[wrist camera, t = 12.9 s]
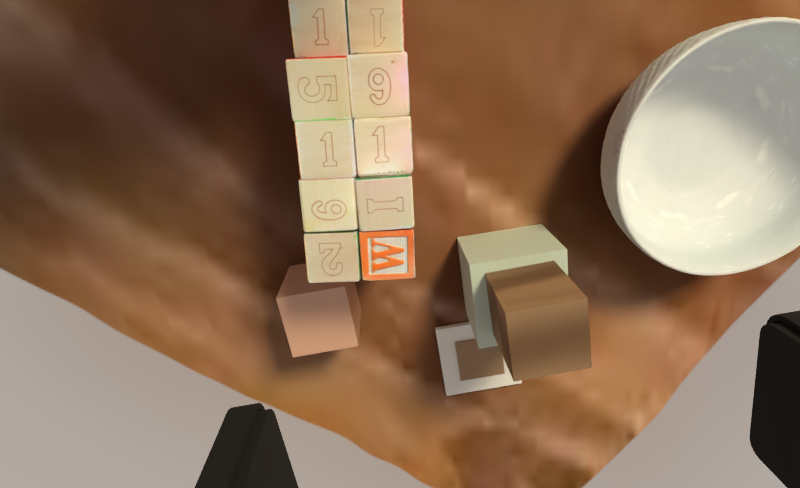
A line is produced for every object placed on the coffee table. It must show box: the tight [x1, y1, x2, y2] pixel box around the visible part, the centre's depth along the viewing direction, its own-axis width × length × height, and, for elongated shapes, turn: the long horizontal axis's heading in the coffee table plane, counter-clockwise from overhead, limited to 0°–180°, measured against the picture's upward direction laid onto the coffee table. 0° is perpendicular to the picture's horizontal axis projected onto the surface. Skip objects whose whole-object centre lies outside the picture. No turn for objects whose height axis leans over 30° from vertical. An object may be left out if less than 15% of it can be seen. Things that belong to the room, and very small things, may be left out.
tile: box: [435, 322, 522, 396], centre depth 44 cm, size 7×7×1 cm
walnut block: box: [485, 261, 592, 382], centre depth 33 cm, size 5×5×6 cm
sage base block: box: [457, 224, 568, 349], centre depth 39 cm, size 7×7×6 cm
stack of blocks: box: [285, 0, 415, 283], centre depth 30 cm, size 21×6×12 cm, turn 2°
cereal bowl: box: [600, 17, 800, 276], centre depth 35 cm, size 17×17×7 cm
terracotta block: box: [276, 263, 361, 357], centre depth 39 cm, size 5×5×6 cm
